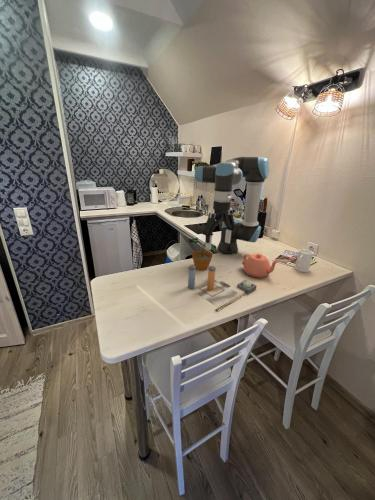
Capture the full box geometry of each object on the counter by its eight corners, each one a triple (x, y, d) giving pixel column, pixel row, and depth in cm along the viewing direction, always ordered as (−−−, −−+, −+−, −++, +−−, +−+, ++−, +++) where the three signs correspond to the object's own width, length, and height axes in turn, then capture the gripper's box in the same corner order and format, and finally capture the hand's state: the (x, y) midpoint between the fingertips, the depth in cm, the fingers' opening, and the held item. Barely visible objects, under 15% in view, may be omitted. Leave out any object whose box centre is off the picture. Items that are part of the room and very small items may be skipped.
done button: (240, 287, 116) (241, 282, 115) (245, 285, 119) (246, 280, 118) (247, 291, 113) (248, 286, 112) (252, 288, 116) (253, 283, 115)
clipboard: (183, 288, 115) (183, 286, 114) (209, 276, 127) (209, 274, 127) (217, 311, 98) (217, 309, 98) (244, 295, 111) (244, 293, 110)
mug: (301, 274, 133) (306, 256, 128) (288, 269, 139) (292, 251, 134) (311, 270, 139) (316, 252, 134) (299, 264, 145) (303, 247, 141)
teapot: (281, 275, 131) (285, 256, 126) (268, 285, 120) (272, 264, 116) (248, 263, 145) (250, 246, 140) (234, 271, 135) (237, 252, 130)
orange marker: (205, 288, 114) (207, 267, 109) (209, 286, 116) (211, 265, 111) (210, 291, 111) (212, 270, 107) (215, 288, 114) (217, 267, 109)
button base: (236, 288, 117) (237, 284, 116) (244, 284, 121) (245, 280, 120) (248, 294, 112) (248, 290, 111) (255, 289, 116) (256, 285, 115)
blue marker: (186, 287, 114) (187, 266, 110) (191, 284, 116) (192, 264, 112) (191, 290, 112) (192, 269, 107) (195, 287, 114) (197, 267, 110)
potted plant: (221, 268, 137) (226, 221, 125) (202, 279, 124) (206, 228, 112) (199, 260, 148) (202, 216, 136) (180, 269, 135) (181, 221, 123)
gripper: (208, 205, 87) (205, 254, 95) (246, 199, 102) (240, 242, 110) (195, 202, 92) (193, 249, 100) (233, 197, 107) (228, 238, 115)
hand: (218, 245), depth 105 cm, fingers open, 13 cm apart
